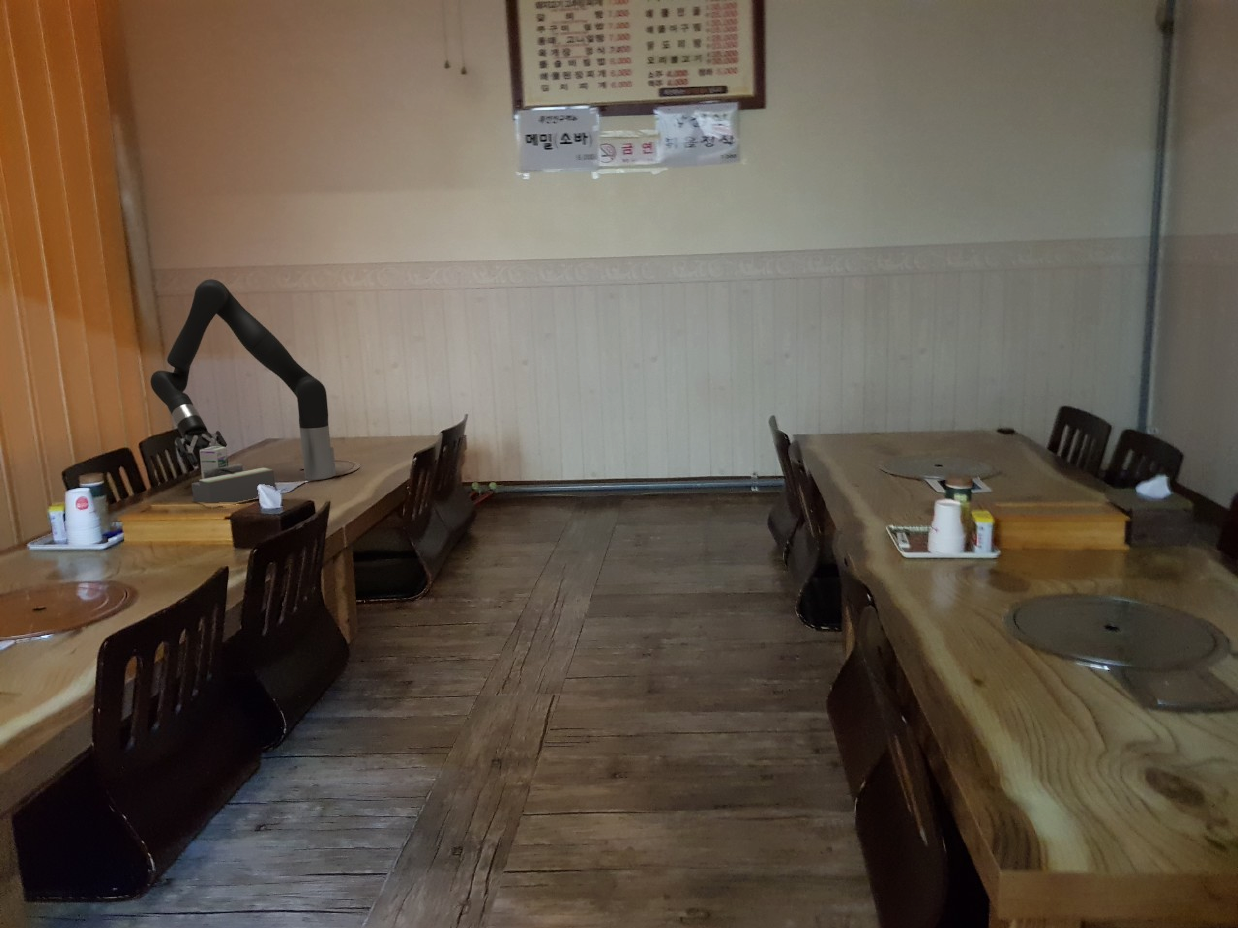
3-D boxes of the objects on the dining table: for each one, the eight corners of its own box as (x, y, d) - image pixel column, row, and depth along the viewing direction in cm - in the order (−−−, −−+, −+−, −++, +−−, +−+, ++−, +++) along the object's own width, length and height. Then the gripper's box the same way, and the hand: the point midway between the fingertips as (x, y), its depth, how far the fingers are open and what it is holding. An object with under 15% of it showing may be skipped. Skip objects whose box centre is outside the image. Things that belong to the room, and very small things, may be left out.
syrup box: (220, 496, 300) (216, 449, 298) (202, 495, 301) (199, 448, 299) (231, 492, 306) (227, 446, 303) (214, 491, 307) (210, 445, 304)
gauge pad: (242, 489, 304) (239, 463, 303) (255, 493, 299) (252, 466, 297) (204, 497, 296) (201, 470, 294) (217, 501, 290) (213, 473, 289)
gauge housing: (255, 490, 307) (252, 465, 306) (276, 495, 299) (273, 469, 297) (192, 503, 293) (188, 477, 291) (211, 509, 285) (208, 482, 283)
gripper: (168, 417, 301) (190, 459, 295) (214, 411, 311) (235, 451, 306) (163, 433, 305) (184, 474, 300) (208, 426, 316) (229, 465, 310)
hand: (210, 462), depth 303 cm, fingers open, 8 cm apart
